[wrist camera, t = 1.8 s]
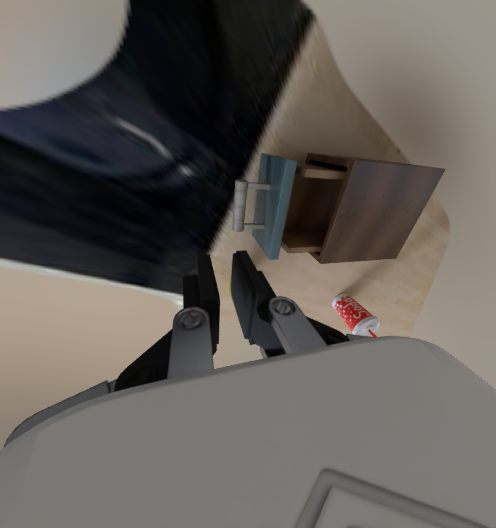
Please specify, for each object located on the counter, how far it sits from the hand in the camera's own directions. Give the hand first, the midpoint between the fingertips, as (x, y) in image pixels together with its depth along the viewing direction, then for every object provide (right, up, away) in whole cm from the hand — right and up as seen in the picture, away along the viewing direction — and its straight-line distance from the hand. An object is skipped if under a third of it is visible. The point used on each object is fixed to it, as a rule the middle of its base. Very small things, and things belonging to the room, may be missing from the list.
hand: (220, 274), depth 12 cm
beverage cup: (+24, -8, +37) cm, 45 cm away
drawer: (+7, +10, +18) cm, 22 cm away
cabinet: (+16, +11, +22) cm, 29 cm away
